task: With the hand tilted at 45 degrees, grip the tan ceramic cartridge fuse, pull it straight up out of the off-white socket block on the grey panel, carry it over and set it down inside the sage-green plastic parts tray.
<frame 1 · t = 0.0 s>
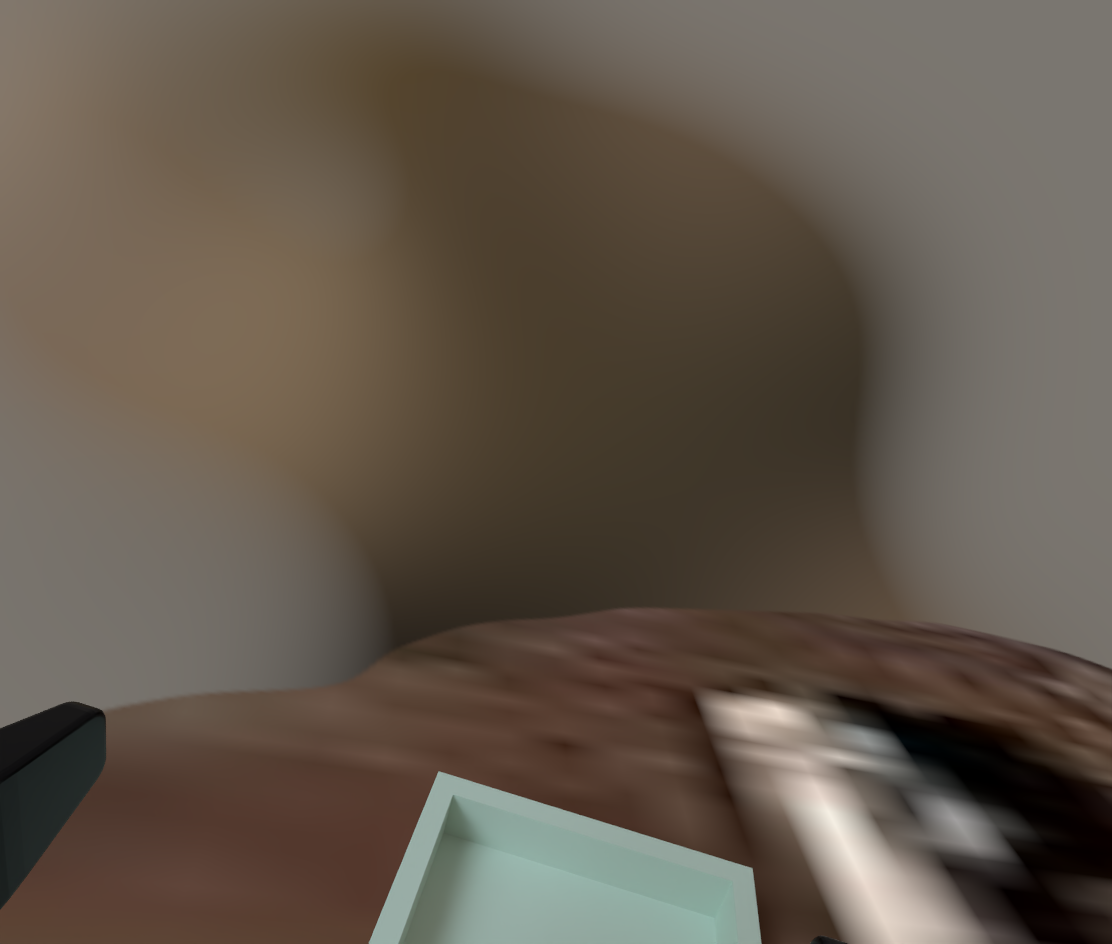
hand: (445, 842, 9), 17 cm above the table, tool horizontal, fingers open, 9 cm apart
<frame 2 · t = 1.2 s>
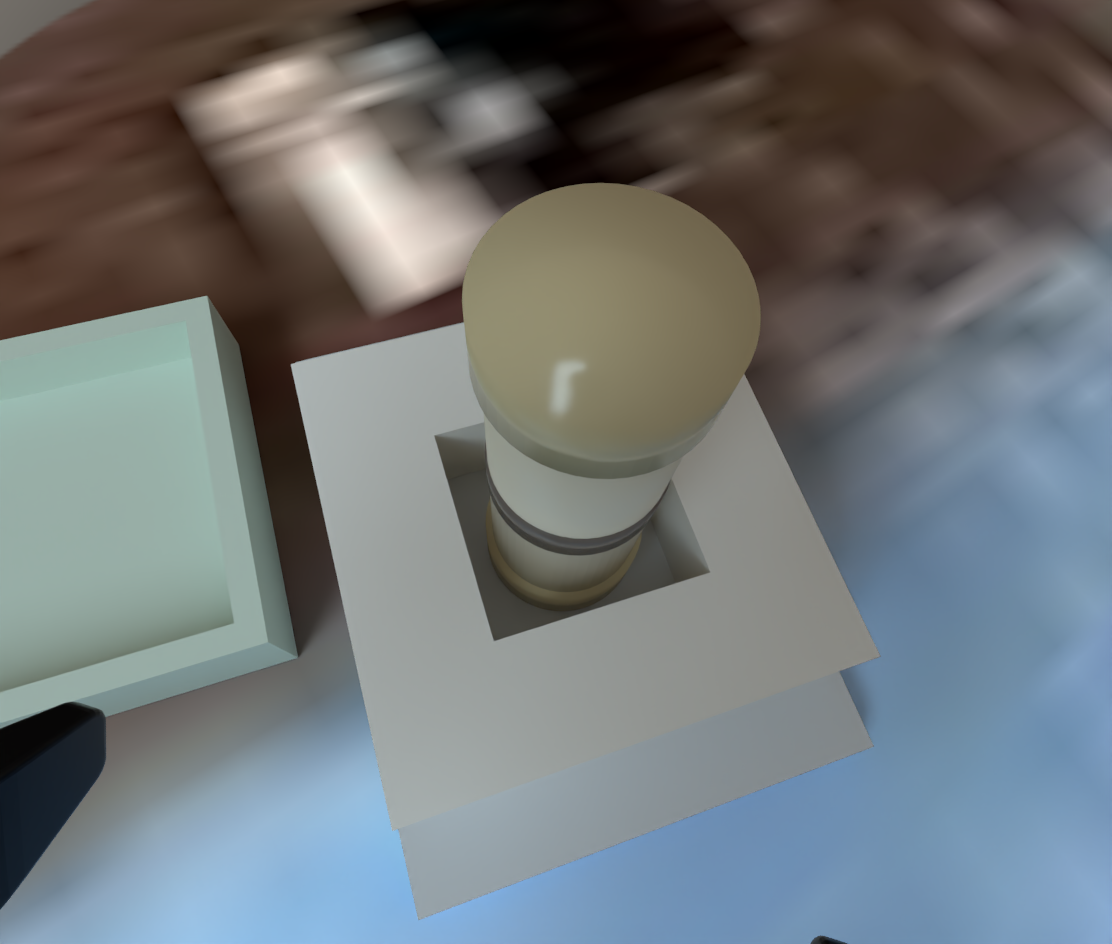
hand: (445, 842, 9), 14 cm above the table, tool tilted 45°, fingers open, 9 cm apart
fuse: (560, 538, 23), point 1 cm above the table, touching fuse panel
parts tray: (80, 536, 23), on the table
fuse panel: (558, 547, 24), on the table
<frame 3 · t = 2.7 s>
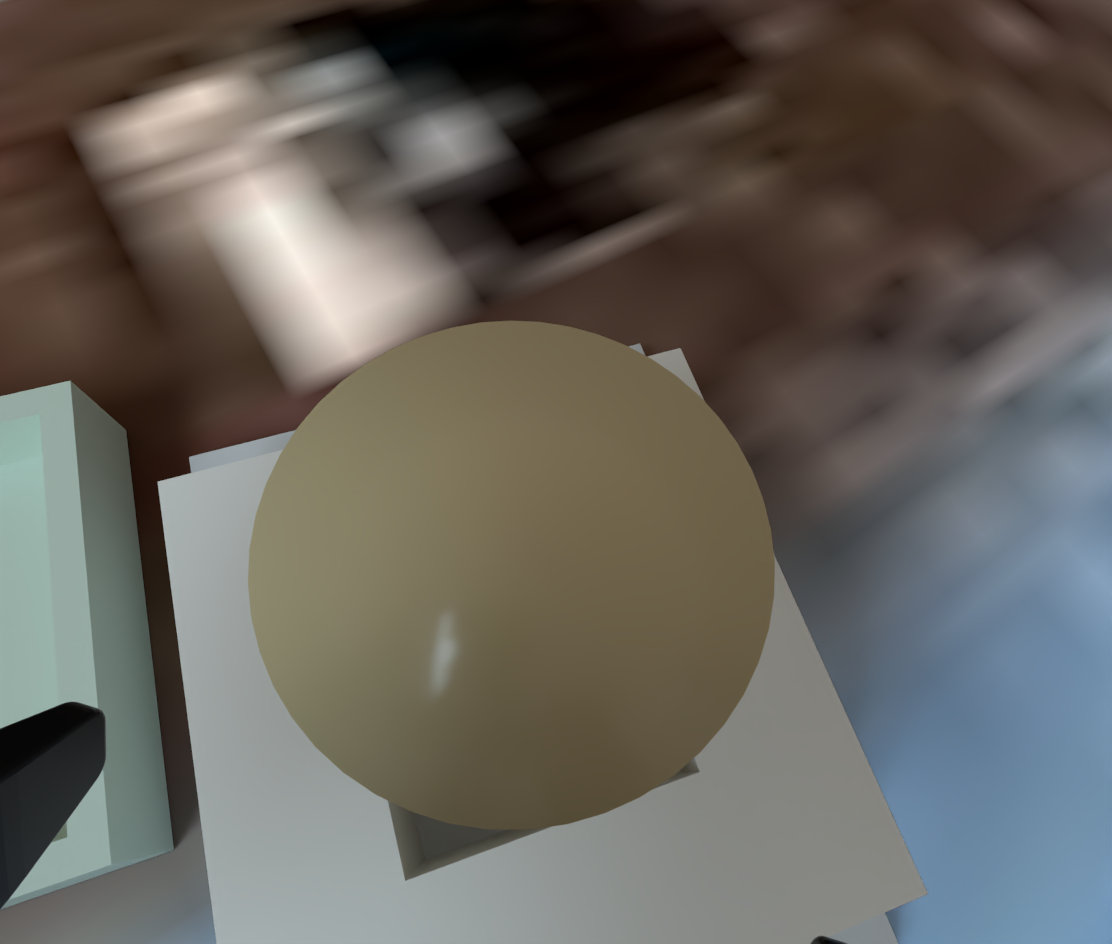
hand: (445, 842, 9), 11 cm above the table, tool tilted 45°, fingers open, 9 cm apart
fuse: (512, 689, 19), point 1 cm above the table, touching fuse panel
fuse panel: (512, 693, 19), on the table
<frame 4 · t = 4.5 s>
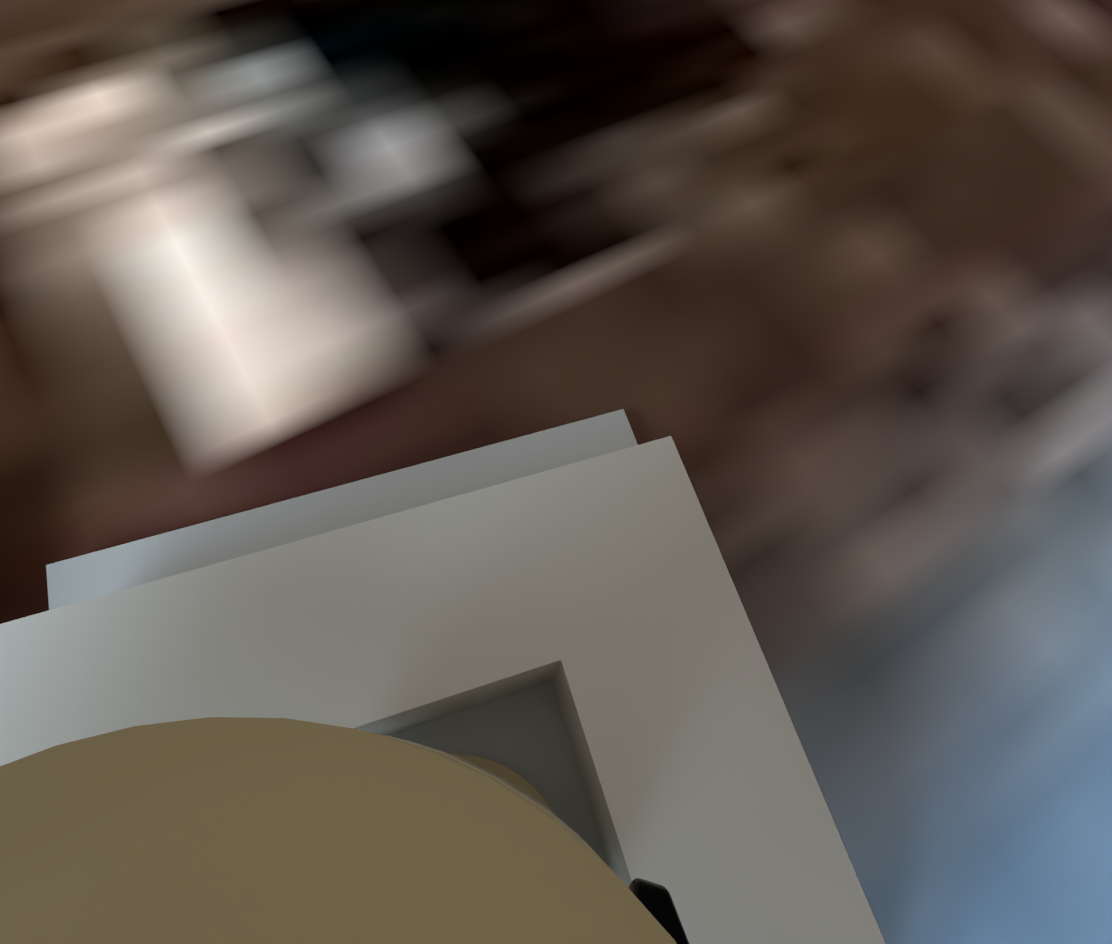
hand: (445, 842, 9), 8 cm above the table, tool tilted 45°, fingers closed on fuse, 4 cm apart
fuse: (450, 884, 14), point 1 cm above the table, touching fuse panel, gripper
fuse panel: (454, 876, 15), on the table
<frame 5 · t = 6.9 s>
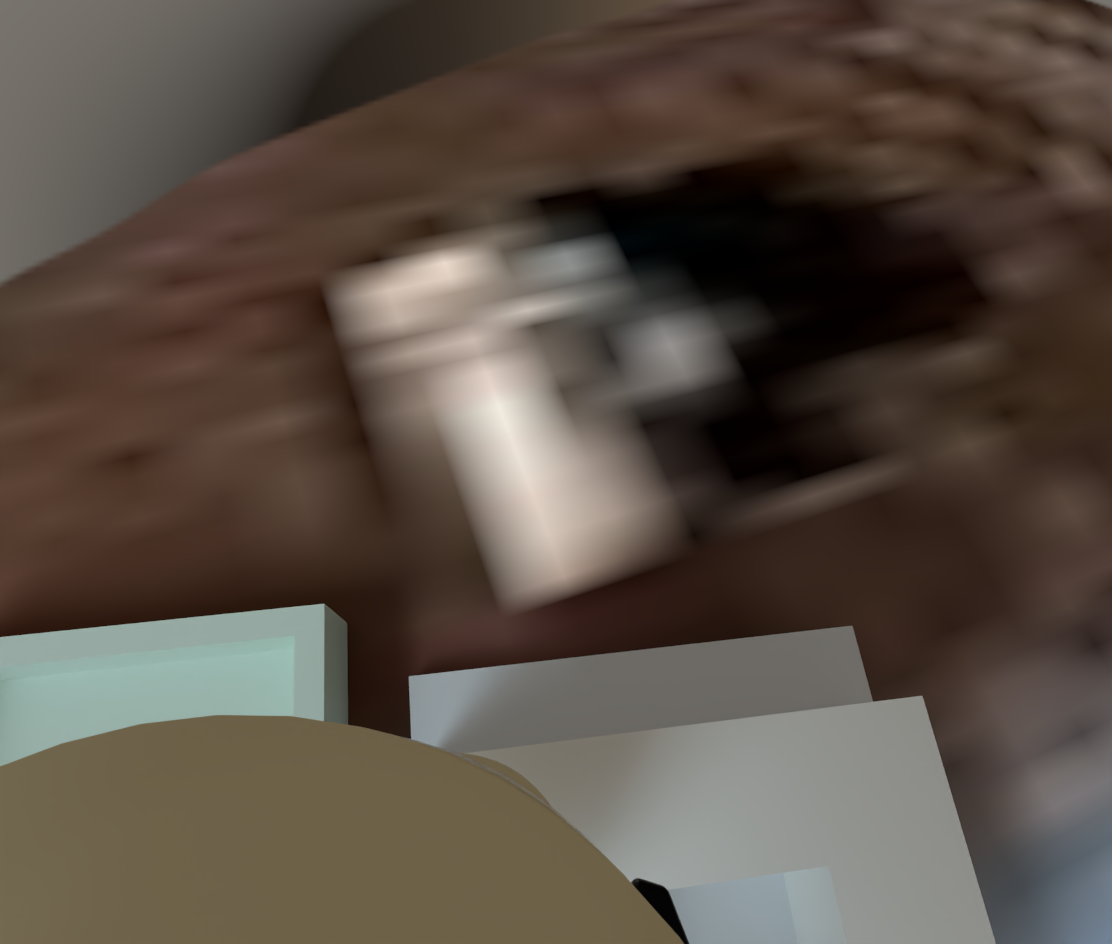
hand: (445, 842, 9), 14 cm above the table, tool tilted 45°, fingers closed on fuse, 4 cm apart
fuse: (452, 883, 14), point 7 cm above the table, touching gripper
parts tray: (131, 859, 20), on the table
when the fingers open (9 cm above the table, at t = 9.3 s): fuse drops 1 cm, resting on parts tray.
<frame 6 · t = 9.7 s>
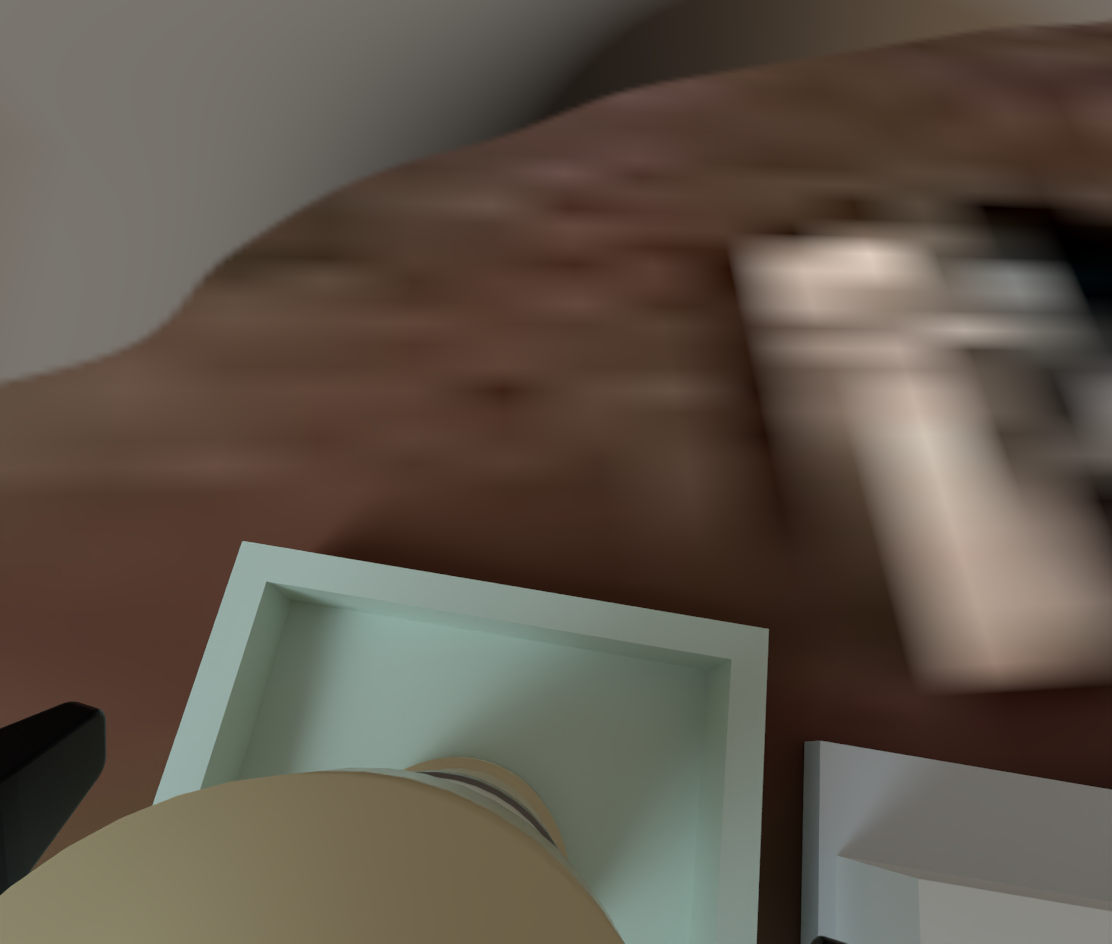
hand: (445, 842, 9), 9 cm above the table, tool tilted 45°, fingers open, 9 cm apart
fuse: (455, 875, 15), point 1 cm above the table, touching parts tray
parts tray: (459, 866, 16), on the table
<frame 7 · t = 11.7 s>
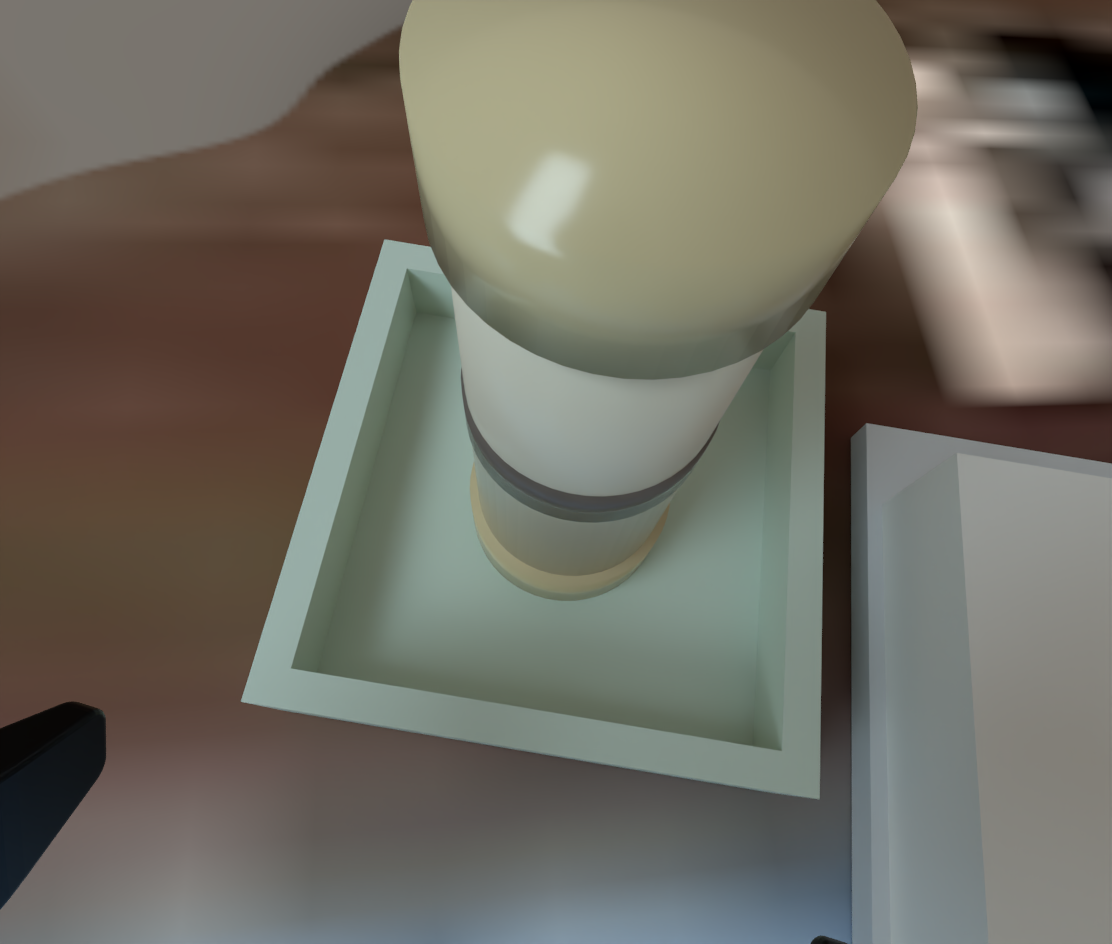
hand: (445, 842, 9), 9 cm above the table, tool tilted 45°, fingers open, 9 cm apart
fuse: (565, 509, 19), point 1 cm above the table, touching parts tray
parts tray: (563, 520, 20), on the table
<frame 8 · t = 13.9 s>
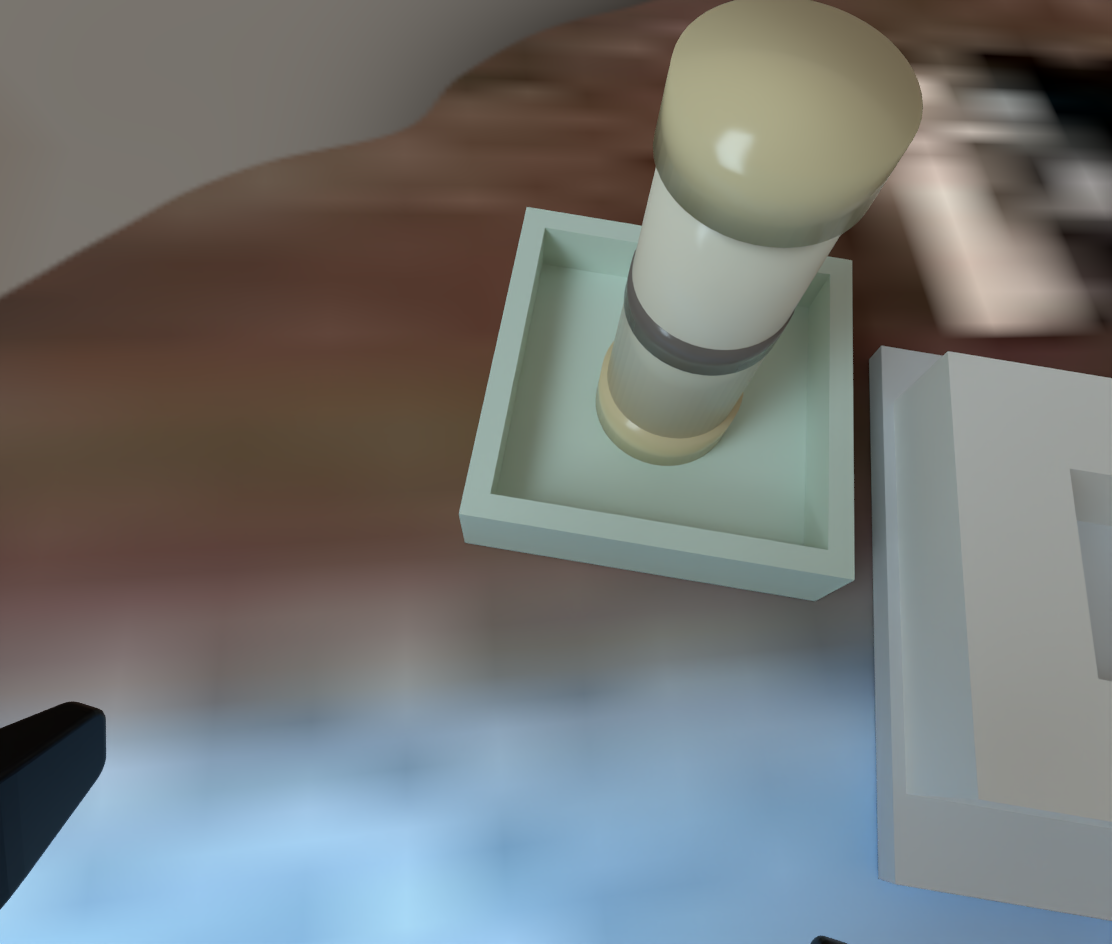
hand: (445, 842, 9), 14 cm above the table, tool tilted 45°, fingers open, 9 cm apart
fuse: (662, 404, 25), point 1 cm above the table, touching parts tray
parts tray: (657, 415, 26), on the table
fuse panel: (1075, 616, 24), on the table
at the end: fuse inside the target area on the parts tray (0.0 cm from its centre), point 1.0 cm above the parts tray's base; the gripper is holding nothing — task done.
